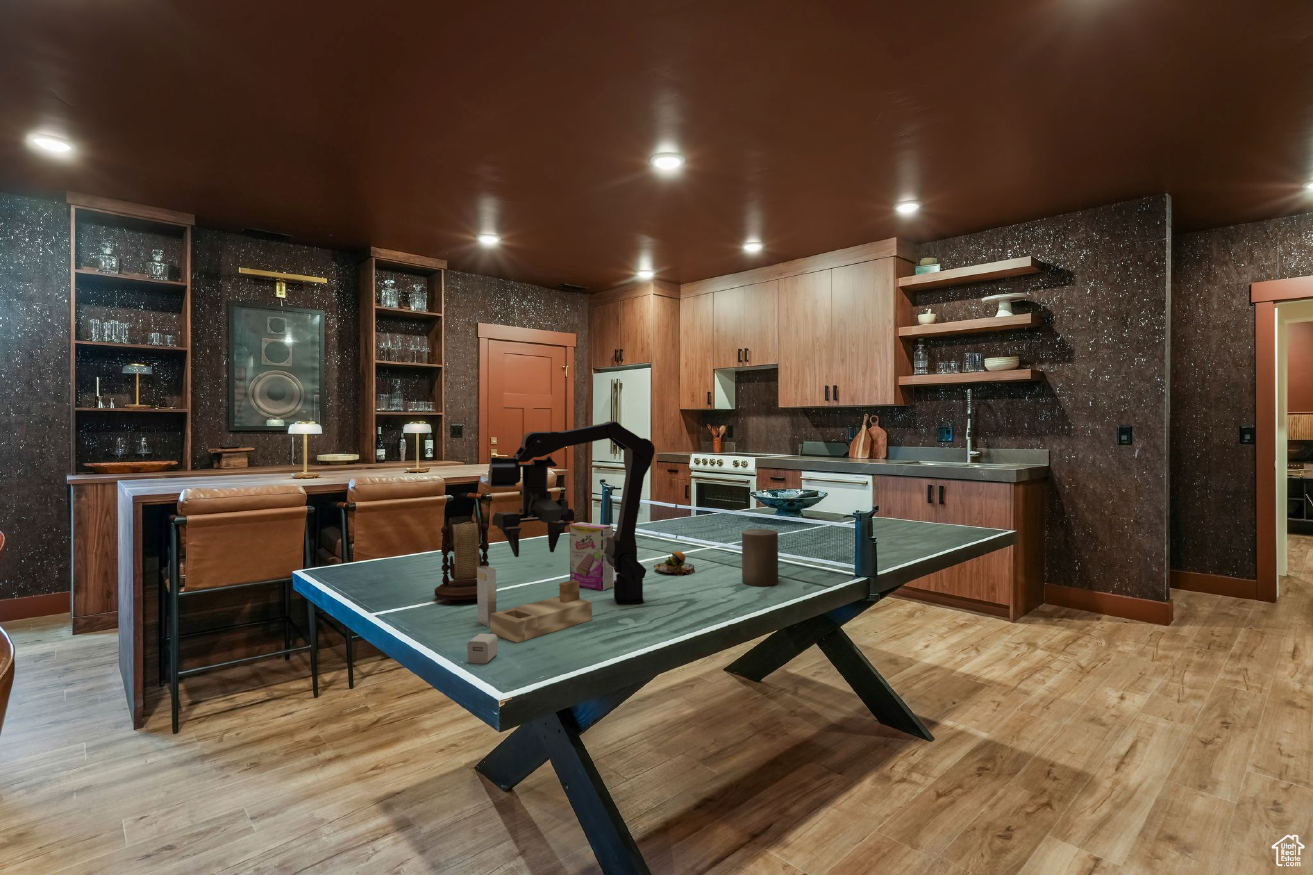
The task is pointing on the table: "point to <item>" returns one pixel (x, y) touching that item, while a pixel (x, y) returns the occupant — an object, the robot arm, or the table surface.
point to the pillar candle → (760, 557)
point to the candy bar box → (590, 555)
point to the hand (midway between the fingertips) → (534, 554)
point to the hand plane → (543, 615)
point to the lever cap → (486, 593)
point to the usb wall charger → (482, 648)
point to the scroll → (462, 560)
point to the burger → (675, 565)
